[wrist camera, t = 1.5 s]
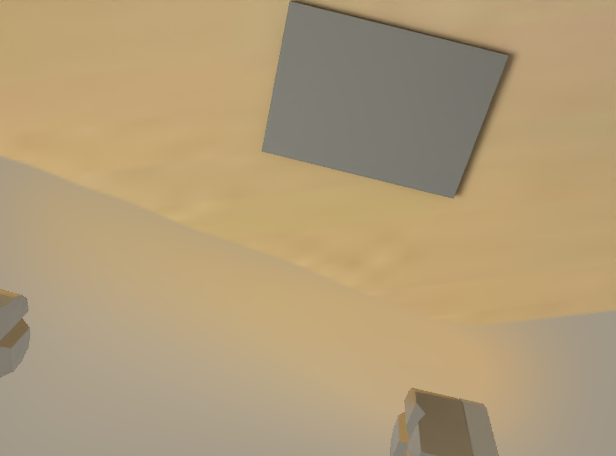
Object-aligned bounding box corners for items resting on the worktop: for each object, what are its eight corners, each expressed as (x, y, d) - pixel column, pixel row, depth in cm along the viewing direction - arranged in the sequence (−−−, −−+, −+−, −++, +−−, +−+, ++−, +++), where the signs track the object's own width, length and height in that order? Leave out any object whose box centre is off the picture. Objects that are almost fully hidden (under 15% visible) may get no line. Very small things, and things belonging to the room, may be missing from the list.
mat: (263, 148, 37) (261, 151, 37) (291, 0, 33) (289, 1, 32) (452, 195, 37) (453, 198, 37) (506, 54, 33) (508, 55, 32)
